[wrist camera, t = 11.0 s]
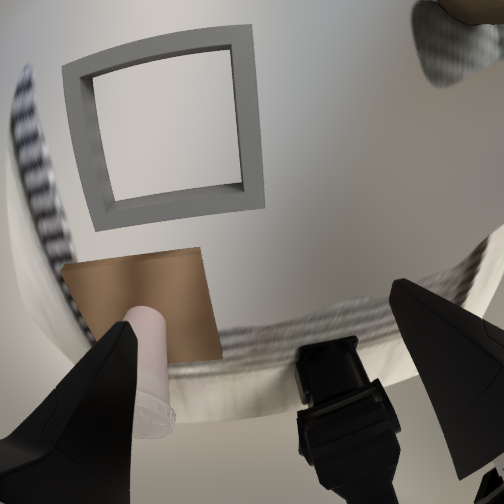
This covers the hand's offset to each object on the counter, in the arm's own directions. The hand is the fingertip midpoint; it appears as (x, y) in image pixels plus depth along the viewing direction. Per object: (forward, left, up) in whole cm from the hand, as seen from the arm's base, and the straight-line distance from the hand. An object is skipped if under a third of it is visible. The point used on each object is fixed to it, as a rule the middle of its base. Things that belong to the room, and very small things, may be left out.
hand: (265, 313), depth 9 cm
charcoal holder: (+4, -5, -12) cm, 14 cm away
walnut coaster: (+9, +10, -12) cm, 18 cm away
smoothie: (+9, +10, -11) cm, 18 cm away
